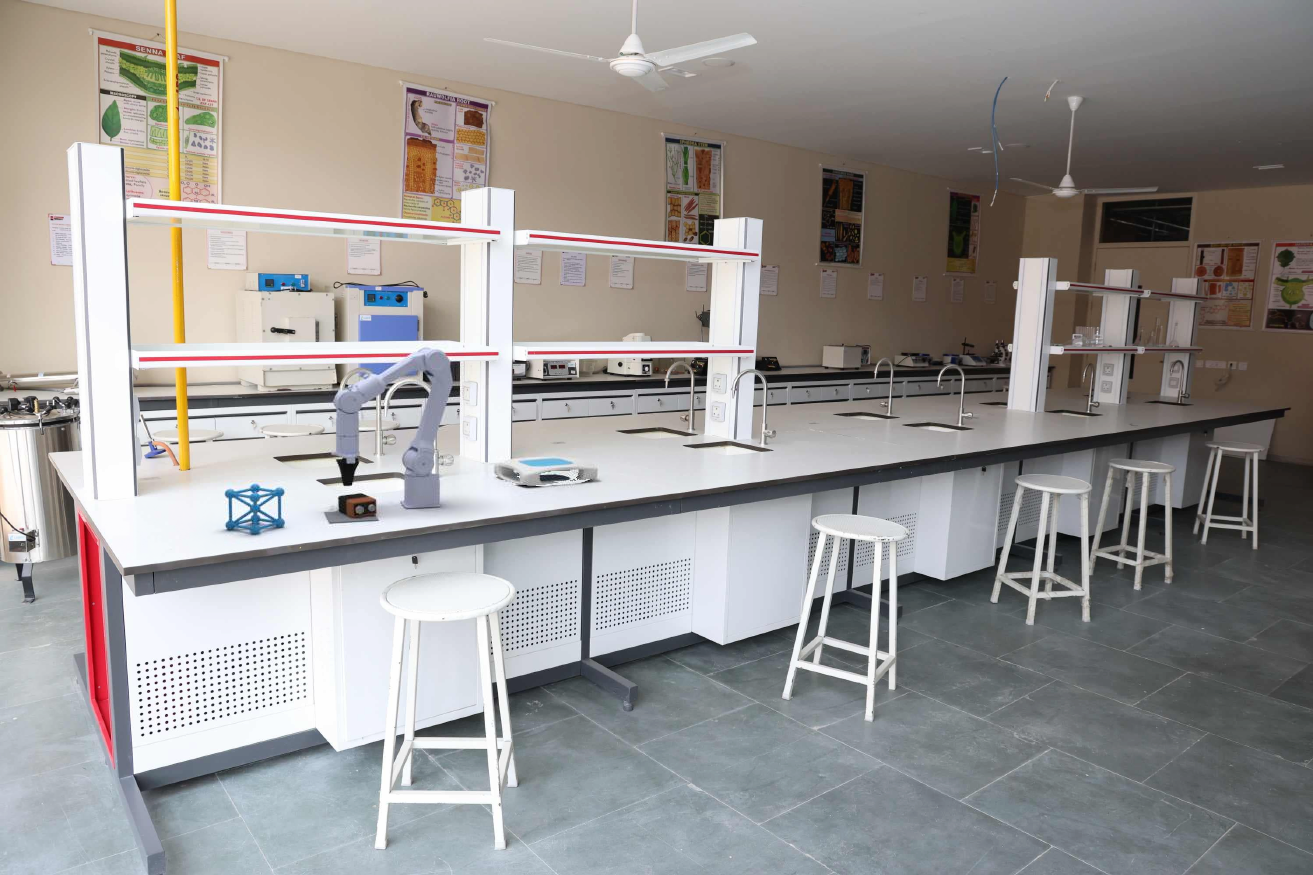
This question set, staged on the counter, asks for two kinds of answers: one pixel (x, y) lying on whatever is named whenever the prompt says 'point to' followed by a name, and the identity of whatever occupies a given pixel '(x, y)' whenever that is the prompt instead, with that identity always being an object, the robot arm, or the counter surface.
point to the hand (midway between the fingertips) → (347, 485)
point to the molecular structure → (254, 508)
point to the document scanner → (542, 469)
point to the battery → (357, 505)
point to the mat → (347, 517)
